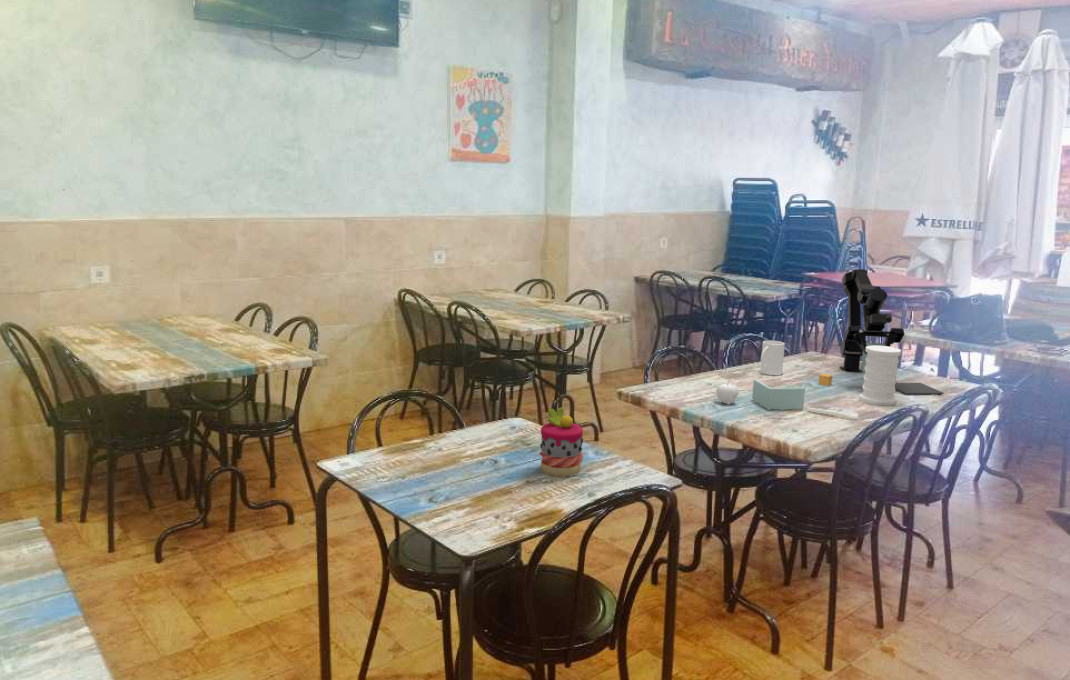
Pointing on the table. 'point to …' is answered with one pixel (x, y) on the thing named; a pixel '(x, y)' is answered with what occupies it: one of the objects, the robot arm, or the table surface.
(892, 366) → the decorative container
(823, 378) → the orange cube
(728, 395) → the plain white apple
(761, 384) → the right angle wall
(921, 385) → the mat
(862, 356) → the green block
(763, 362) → the mug
